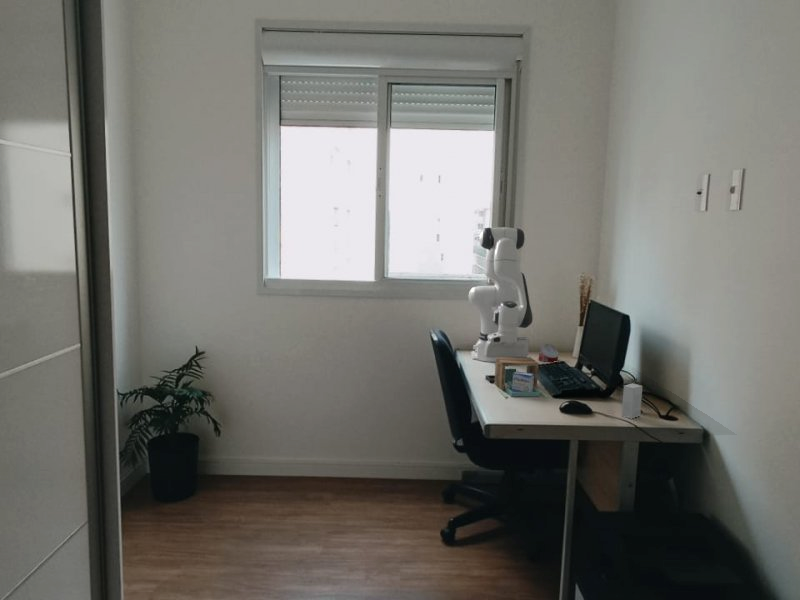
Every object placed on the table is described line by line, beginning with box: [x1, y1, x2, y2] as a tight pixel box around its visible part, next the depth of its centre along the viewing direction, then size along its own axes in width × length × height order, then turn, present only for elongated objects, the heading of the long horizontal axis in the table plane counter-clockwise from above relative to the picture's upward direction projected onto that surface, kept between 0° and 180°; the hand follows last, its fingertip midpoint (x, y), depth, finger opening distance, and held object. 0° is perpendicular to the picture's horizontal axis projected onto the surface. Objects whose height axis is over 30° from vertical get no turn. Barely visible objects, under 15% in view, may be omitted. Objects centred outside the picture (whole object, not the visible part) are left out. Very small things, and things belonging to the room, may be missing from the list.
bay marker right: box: [537, 388, 549, 399], centre depth 228 cm, size 10×1×1 cm, turn 7°
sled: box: [504, 368, 541, 397], centre depth 234 cm, size 22×12×6 cm, turn 6°
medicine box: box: [511, 370, 534, 392], centre depth 227 cm, size 8×4×9 cm, turn 62°
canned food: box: [538, 343, 560, 363], centre depth 287 cm, size 11×10×10 cm
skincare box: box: [621, 383, 643, 419], centre depth 202 cm, size 6×4×12 cm
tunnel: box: [493, 356, 539, 392], centre depth 236 cm, size 10×16×12 cm, turn 96°
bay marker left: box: [498, 388, 509, 399], centre depth 226 cm, size 10×1×1 cm, turn 6°
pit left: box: [485, 374, 495, 384], centre depth 246 cm, size 7×5×2 cm
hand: (505, 366), depth 250 cm, fingers closed
